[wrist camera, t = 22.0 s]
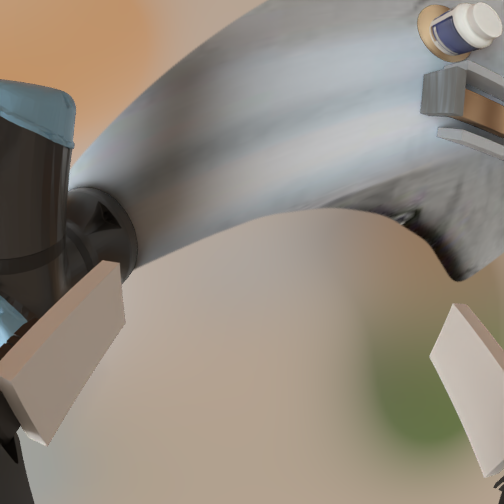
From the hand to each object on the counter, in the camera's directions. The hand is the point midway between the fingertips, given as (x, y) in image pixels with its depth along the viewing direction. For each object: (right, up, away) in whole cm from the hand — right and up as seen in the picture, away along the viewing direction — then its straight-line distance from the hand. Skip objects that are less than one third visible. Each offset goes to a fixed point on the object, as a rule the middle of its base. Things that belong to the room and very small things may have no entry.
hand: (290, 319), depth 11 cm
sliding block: (+27, +20, +19) cm, 38 cm away
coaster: (+22, +29, +15) cm, 40 cm away
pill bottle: (+22, +29, +15) cm, 39 cm away
